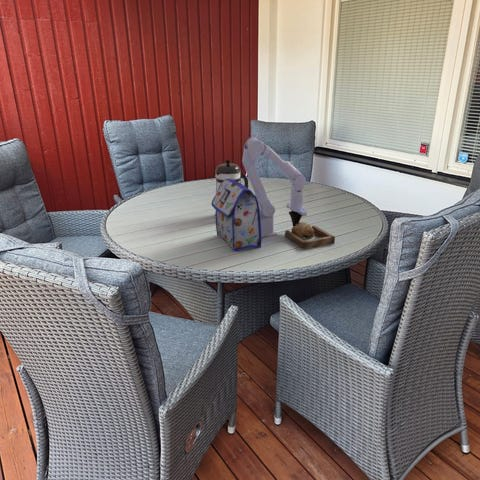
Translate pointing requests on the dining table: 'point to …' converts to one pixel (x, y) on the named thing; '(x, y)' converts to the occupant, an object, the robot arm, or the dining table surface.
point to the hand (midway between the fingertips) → (295, 226)
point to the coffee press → (229, 174)
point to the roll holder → (324, 240)
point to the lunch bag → (237, 215)
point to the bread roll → (303, 230)
